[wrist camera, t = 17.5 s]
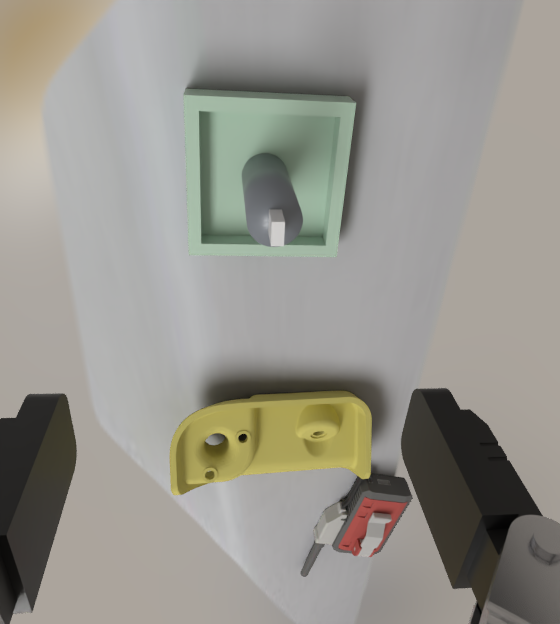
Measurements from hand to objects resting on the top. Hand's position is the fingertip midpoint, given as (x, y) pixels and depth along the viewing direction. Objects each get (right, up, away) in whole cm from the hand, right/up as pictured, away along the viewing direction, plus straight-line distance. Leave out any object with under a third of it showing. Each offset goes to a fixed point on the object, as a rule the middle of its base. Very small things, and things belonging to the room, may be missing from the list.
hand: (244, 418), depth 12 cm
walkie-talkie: (+10, -24, +55) cm, 60 cm away
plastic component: (0, -9, +44) cm, 45 cm away
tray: (0, +13, +29) cm, 32 cm away
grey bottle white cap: (0, +13, +29) cm, 32 cm away
